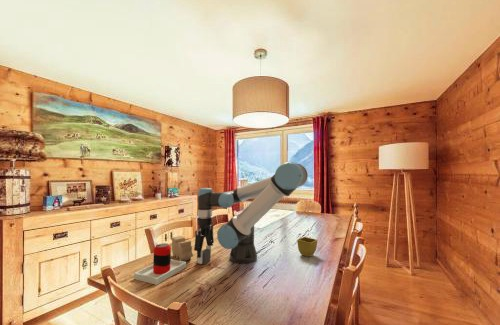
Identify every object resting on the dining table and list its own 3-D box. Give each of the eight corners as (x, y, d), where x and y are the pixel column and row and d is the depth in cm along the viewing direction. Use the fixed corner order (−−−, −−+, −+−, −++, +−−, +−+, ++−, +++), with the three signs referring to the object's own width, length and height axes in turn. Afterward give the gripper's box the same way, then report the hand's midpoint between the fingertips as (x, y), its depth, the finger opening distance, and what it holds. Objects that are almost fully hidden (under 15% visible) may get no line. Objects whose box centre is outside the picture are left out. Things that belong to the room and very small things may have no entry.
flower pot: (318, 255, 131) (317, 239, 131) (310, 259, 124) (310, 243, 125) (304, 251, 137) (304, 236, 137) (296, 255, 130) (296, 239, 131)
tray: (186, 267, 113) (186, 262, 113) (156, 284, 95) (156, 278, 95) (165, 262, 118) (165, 258, 118) (134, 278, 100) (134, 273, 101)
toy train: (182, 263, 117) (183, 244, 118) (171, 254, 131) (171, 236, 131) (192, 261, 121) (193, 242, 121) (180, 252, 134) (180, 235, 135)
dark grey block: (210, 260, 122) (210, 249, 122) (204, 264, 117) (205, 252, 117) (202, 259, 123) (202, 248, 124) (196, 262, 119) (197, 251, 119)
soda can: (153, 269, 109) (153, 243, 109) (169, 266, 112) (170, 242, 112) (153, 275, 102) (153, 248, 102) (170, 273, 105) (171, 246, 105)
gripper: (209, 213, 132) (208, 253, 131) (187, 220, 113) (186, 266, 112) (220, 214, 129) (220, 255, 128) (199, 221, 110) (198, 269, 109)
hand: (204, 260), depth 120 cm, fingers open, 7 cm apart
